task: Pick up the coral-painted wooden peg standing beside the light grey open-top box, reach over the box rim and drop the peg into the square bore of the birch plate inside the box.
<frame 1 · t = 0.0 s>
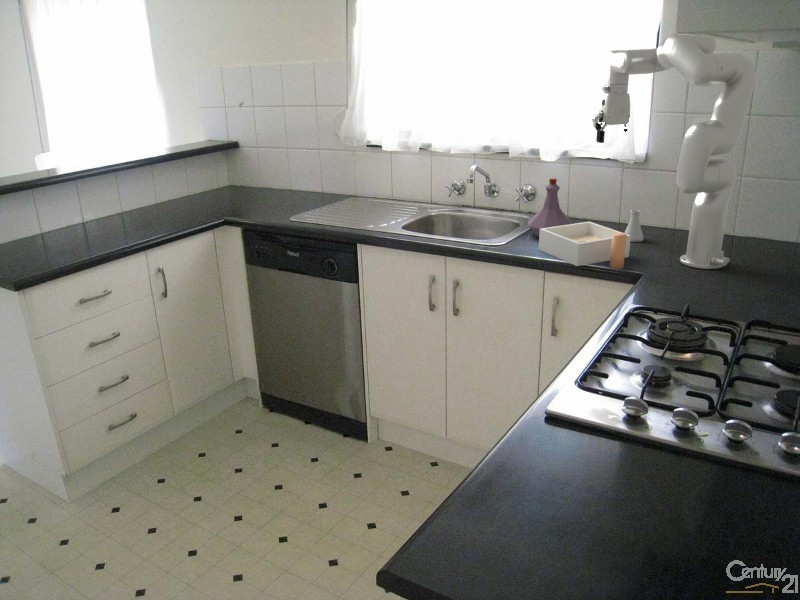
hand: (611, 141, 233), 31 cm above the worktop, fingers open, 9 cm apart
peg: (616, 266, 204), on the worktop
box: (582, 253, 217), on the worktop
flask 2: (632, 240, 231), on the worktop
flask: (549, 236, 237), on the worktop
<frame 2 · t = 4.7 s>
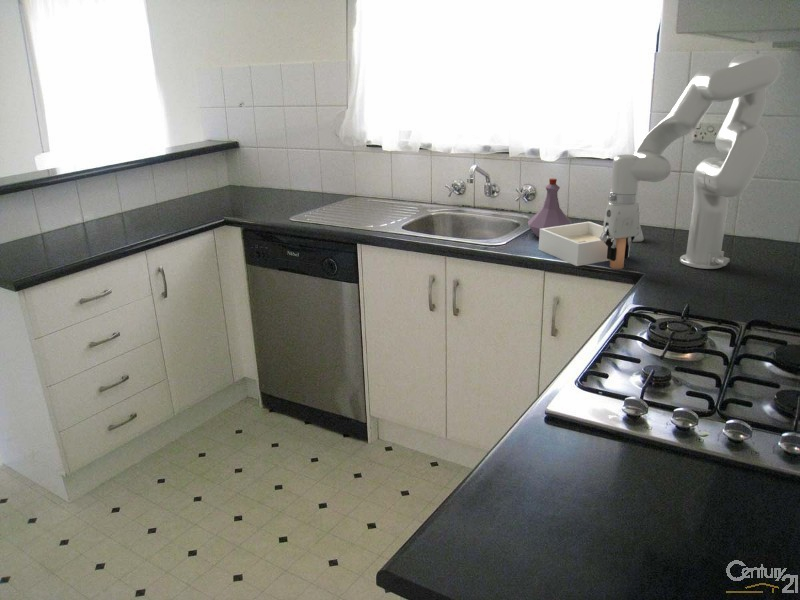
hand: (617, 258, 203), 3 cm above the worktop, fingers closed on peg, 4 cm apart
peg: (616, 266, 204), on the worktop, touching gripper
everything else where it was.
when the fingers open (4 cm above the worktop, at t = 10.7 s): peg drops 1 cm, resting in box.
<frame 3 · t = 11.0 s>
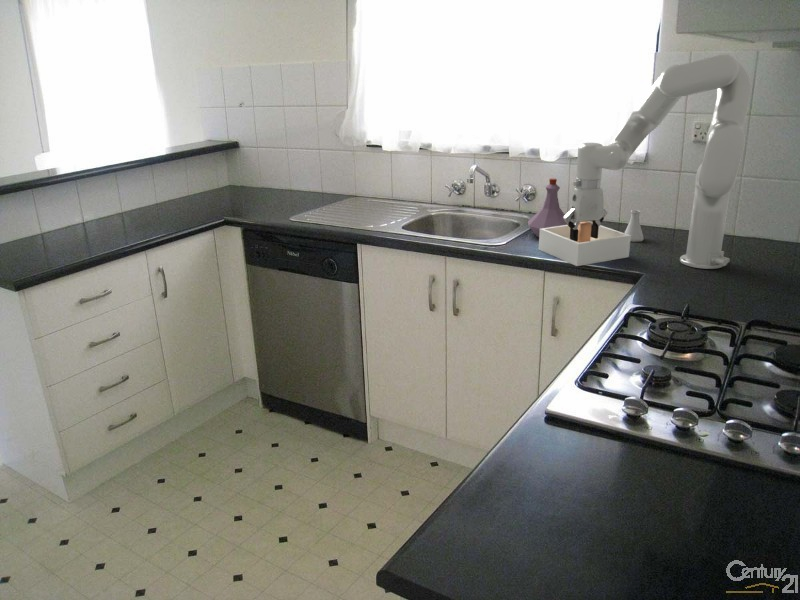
hand: (583, 238, 216), 5 cm above the worktop, fingers open, 7 cm apart
peg: (582, 253, 217), resting in box
everything else where it was.
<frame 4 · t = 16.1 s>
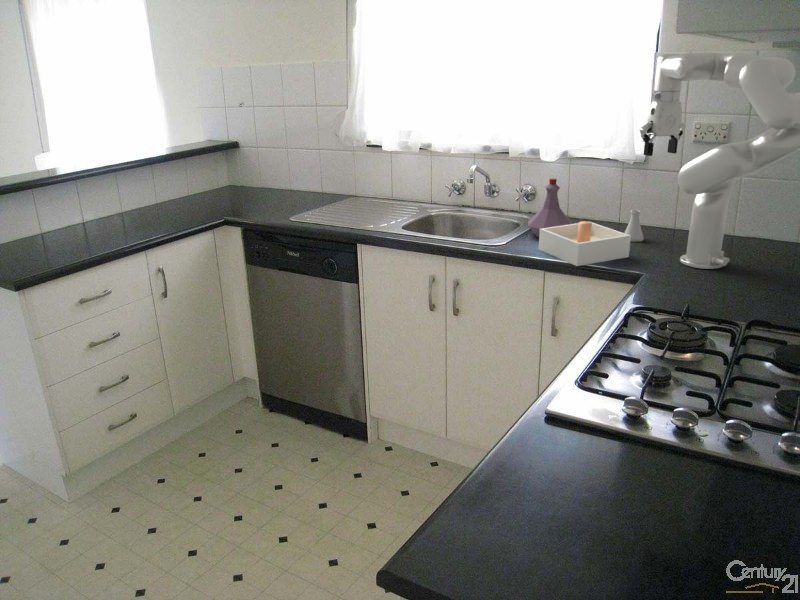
hand: (659, 154, 211), 30 cm above the worktop, fingers open, 9 cm apart
nothing on the worktop moved.
at the end: peg 0.0 cm off-centre on the box, point 0.0 cm above the box's base; peg tilted 0°; the gripper is holding nothing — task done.
